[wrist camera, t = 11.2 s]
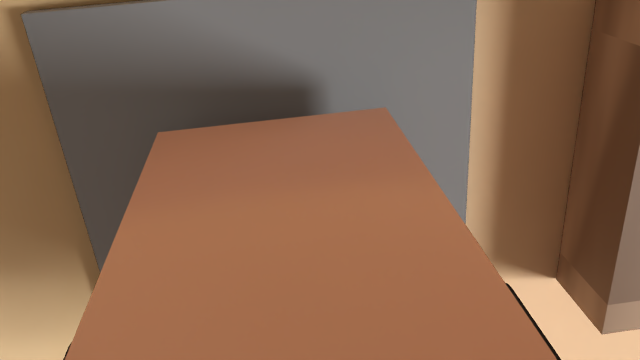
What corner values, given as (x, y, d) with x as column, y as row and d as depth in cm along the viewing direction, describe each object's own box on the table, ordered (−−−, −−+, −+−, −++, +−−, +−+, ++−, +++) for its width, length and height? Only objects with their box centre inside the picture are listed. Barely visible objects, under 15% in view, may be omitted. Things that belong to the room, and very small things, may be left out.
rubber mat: (471, -31, 15) (478, -29, 15) (456, 309, 21) (460, 318, 20) (27, 11, 15) (20, 14, 14) (131, 354, 20) (128, 364, 20)
